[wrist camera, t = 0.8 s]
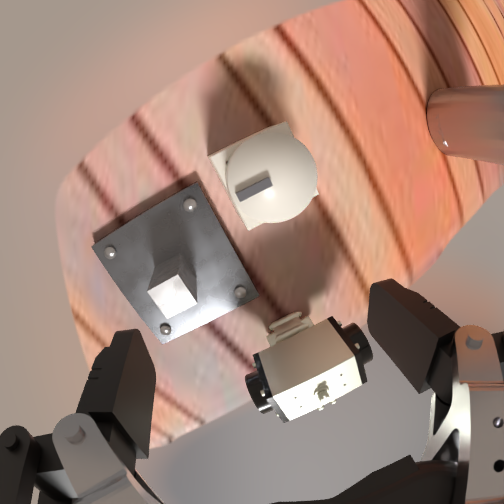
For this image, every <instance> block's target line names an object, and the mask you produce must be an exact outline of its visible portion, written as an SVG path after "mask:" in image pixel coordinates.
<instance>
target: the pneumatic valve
mask: <svg viewBox="0 0 504 504" xmlns="http://www.w3.org/2000/svg"><path fill="white" fill-rule="evenodd" d="M301 315H302V313H301V312H296V311H295V312H293V313H291V314H289V315H287V316H285V317H283V318H281V319H279V320H277V321H274V322H272V323H271V325H270V326H269V328H270V330H271V331H272V330H274V332H273V333H271V334H269V335H267V336H266V337H267V340H268V342H269V344H270V346H271V347H269V348H267V349H265V350H263V351H260V352H258V353H256V354H254V355H253V357H254V361H255V363H252V365H253V367H254V368H257V371H254V372H252V373H250V374H247V375H246V376H245V382H246V385H247V388H248V391H249V393H250V396H251V398H252V400H253V402H254V404H255V405H256V407H257V408H258V410H259V411H260V412H261V413H263V414H265V413H267V412H270V411H272V410H275V412H276V415H277V416H279V417H280V418H281V420H282V421H283V422H284V423H285V422H288V421H290V420H292V419H294V418H297V417H299V416H301V415H303V414H305V413H308V412H310V411H312V410H314V409H318V410H322V409H323V408H324V405H325V404H327V403H330V404H334V403H335V402H336V398H338V397H340V396H342V395H344V394H346V393H348V392H350V391H351V390H353V389H355V388H357V387H359V386H360V385H362V384H364V383H365V382H367V378H366V371H365V369H364V364H366V363H368V362H370V361H371V360H372V359H373V353H372V350H371V347H370V345H369V342H368V340H367V338H366V337H365V335H364V333H363V332H362V330H361V329H360V328H359V326H358V325H357V324H355V323H351V324H349V325H347V326H345V327H344V328H341V327H340V326H342V324H341V322H340V321H338V322H337V321H336V320H335V319H334V318H333V316H331V317H329V318H327V319H325V320H324V321H322V322H320V323H318V324H316V325H314V324H313V322H312V321H311V319H310V317H309V316H306V317H304V318H302V319H300V318H299V317H300V316H301Z"/></svg>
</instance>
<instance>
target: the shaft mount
mask: <svg viewBox="0 0 504 504" xmlns="http://www.w3.org/2000/svg"><path fill="white" fill-rule="evenodd" d="M92 249H93V250H94V252H95V253H96V255H97V256H98V258H99V260H100V261H101V263H102V264H103V266H104V267H105V269H106V270H107V271H108V273H109V274H110V276H111V277H112V279H113V280H114V282H115V283H116V285H117V286H118V287H119V289H120V290H121V292H122V293H123V294H124V296H125V297H126V298H127V300H128V301H129V302H130V304H131V305H132V306H133V308H134V309H135V310H136V312H137V313H138V314H139V316H140V317H141V318H142V320H143V321H144V322H145V323H146V325H147V326H148V327H149V328H150V330H151V331H152V332H153V333H154V335H155V336H156V337H157V338H158V339H159V341H160V342H161V343H162V344H164V343H166V342H168V341H171V340H173V339H175V338H177V337H179V336H181V335H183V334H185V333H187V332H189V331H191V330H193V329H195V328H197V327H199V326H201V325H204V324H206V323H208V322H210V321H212V320H214V319H216V318H218V317H220V316H222V315H224V314H226V313H227V312H229V311H231V310H233V309H235V308H237V307H239V306H241V305H243V304H245V303H247V302H249V301H251V300H253V299H255V298H257V297H259V294H258V291H257V290H256V288H255V286H254V284H253V282H252V281H251V279H250V277H249V275H248V273H247V272H246V270H245V268H244V266H243V264H242V263H241V261H240V259H239V257H238V255H237V254H236V252H235V250H234V248H233V246H232V245H231V243H230V241H229V239H228V237H227V235H226V234H225V232H224V230H223V228H222V226H221V224H220V223H219V221H218V219H217V217H216V215H215V214H214V212H213V210H212V208H211V206H210V204H209V202H208V201H207V199H206V197H205V195H204V193H203V191H202V190H201V188H200V186H199V184H198V182H195V183H193V184H191V185H190V186H188V187H186V188H184V189H182V190H181V191H179V192H177V193H175V194H173V195H172V196H170V197H168V198H167V199H165V200H163V201H161V202H160V203H158V204H156V205H155V206H153V207H151V208H150V209H148V210H146V211H145V212H143V213H141V214H140V215H138V216H136V217H135V218H133V219H132V220H130V221H128V222H127V223H125V224H124V225H122V226H120V227H119V228H117V229H116V230H114V231H113V232H111V233H110V234H108V235H107V236H105V237H104V238H102V239H101V240H99V241H98V242H96V243H95V244H94V245H93V246H92Z"/></svg>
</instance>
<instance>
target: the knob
mask: <svg viewBox="0 0 504 504" xmlns="http://www.w3.org/2000/svg"><path fill="white" fill-rule="evenodd" d="M208 158H209V160H210V162H211V164H212V166H213V168H214V170H215V172H216V174H217V176H218V177H219V179H220V181H221V183H222V185H223V187H224V189H225V191H226V193H227V195H228V197H229V198H230V200H231V202H232V204H233V206H234V208H235V210H236V212H237V214H238V215H239V217H240V219H241V220H242V222H243V223H244V225H245V226H246V228H247V229H248V231H249V230H251V229H253V228H255V227H257V226H259V225H261V224H263V223H264V222H266V223H278V222H283V221H287V220H289V219H291V218H293V217H295V216H297V215H298V214H299V213H301V212H302V211H303V210H304V209H305V208H306V207H307V206H308V204H309V203H310V201H311V200H312V198H313V197H315V196H317V195H319V193H318V191H317V188H316V186H317V168H316V164H315V161H314V159H313V157H312V155H311V153H310V152H309V150H308V149H307V148H306V147H305V145H304V144H302V143H301V142H300V141H299V140H297V139H296V138H294V136H293V134H292V131H291V129H290V127H289V125H288V123H287V121H286V122H283V123H280V124H276V125H273V126H270V127H267V128H265V129H263V130H261V131H259V132H256V133H254V134H252V135H250V136H248V137H246V138H244V139H241V140H239V141H237V142H235V143H233V144H231V145H229V146H227V147H225V148H223V149H221V150H219V151H217V152H215V153H213V154H211V155H209V156H208ZM226 161H228V162H227V164H226Z"/></svg>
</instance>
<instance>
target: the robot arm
mask: <svg viewBox="0 0 504 504" xmlns="http://www.w3.org/2000/svg"><path fill="white" fill-rule="evenodd" d="M427 121H428V127H429V131H430V134H431V136H432V139H433V141H434V142H435V144H436V146H437V147H438V148H439V150H441V151H442V152H443V153H444V154H446V155H449V156H455V157H462V158H468V159H473V160H479V161H485V162H490V163H495V164H500V165H504V85H481V86H465V87H453V88H443V89H438V90H436V91H435V92H433V94H432V95H431V97H430V99H429V102H428V107H427ZM367 323H368V328H369V332H370V334H371V335H372V337H373V338H374V339H375V340H376V341H377V343H378V344H379V345H380V346H381V347H382V349H383V350H384V351H385V352H386V353H387V355H388V356H389V357H390V358H391V360H392V361H393V362H394V363H395V364H396V366H397V367H398V368H399V369H400V370H401V372H402V373H403V374H404V376H405V377H406V378H407V379H408V380H409V382H410V383H411V384H412V385H413V387H414V388H415V389H416V390H417V392H418V393H419V394H420V393H422V392H424V391H426V390H428V389H430V388H432V389H433V391H434V392H433V395H432V399H431V414H430V424H429V433H428V441H427V445H426V448H425V451H424V453H423V455H422V458H421V461H420V462H414V460H413V458H412V457H411V455H408V456H406V457H404V458H402V459H400V460H398V461H396V462H394V463H392V464H390V465H388V466H386V467H383V468H381V469H379V470H377V471H374V472H372V473H371V474H369V475H368V476H366V477H365V478H363V479H362V480H360V481H359V482H358V483H356V484H354V485H353V486H351V487H350V488H348V489H347V490H345V491H344V492H342V493H340V494H339V495H337V496H335V497H333V498H330V499H325V500H314V501H297V502H276V503H272V504H504V331H503V332H499V333H495V334H490V333H489V332H488V331H487V330H485V329H483V328H481V327H479V326H475V325H466V326H463V327H460V326H458V325H457V324H456V323H455V322H453V321H452V320H451V319H450V318H449V317H448V316H446V315H445V314H444V313H443V312H441V311H440V310H439V309H438V308H435V307H434V305H432V304H431V303H430V302H427V300H426V299H425V298H424V297H422V296H421V295H420V294H419V293H417V292H414V291H411V290H409V289H407V288H404V287H403V286H402V285H400V284H399V283H398V282H396V281H395V280H394V279H387V280H383V281H380V282H376V283H373V284H372V285H371V287H370V296H369V308H368V318H367ZM91 369H92V371H90V374H89V376H88V380H87V382H86V384H85V387H84V390H83V393H82V395H81V398H80V401H79V404H78V407H77V410H76V413H74V414H70V415H68V416H66V417H64V418H63V419H61V420H60V421H59V422H58V423H57V425H56V426H55V428H54V430H53V433H51V434H46V435H42V436H36V437H32V435H31V434H30V433H29V432H28V431H27V430H26V429H25V428H24V427H22V426H11V427H9V428H7V429H6V430H4V431H3V433H2V434H1V435H0V504H31V499H32V493H33V487H34V486H35V487H36V488H37V489H39V490H40V493H39V499H38V504H165V503H164V502H163V501H162V500H161V498H160V497H159V496H158V495H157V494H156V493H155V492H154V491H153V489H152V488H151V487H150V486H149V485H148V483H147V482H146V481H145V480H144V479H143V477H142V476H141V475H140V474H139V472H138V471H137V470H136V469H135V463H136V459H148V456H149V443H150V431H151V421H152V411H153V402H154V393H155V385H156V372H155V368H154V364H153V362H152V359H151V357H150V355H149V352H148V350H147V347H146V345H145V343H144V340H143V338H142V335H141V333H140V331H139V330H138V329H131V330H123V331H117V332H115V334H114V337H113V339H112V342H111V345H110V347H105V348H104V349H103V350H102V351H101V352H100V353H99V354H98V356H97V357H96V358H95V361H94V363H93V366H92V368H91Z"/></svg>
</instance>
